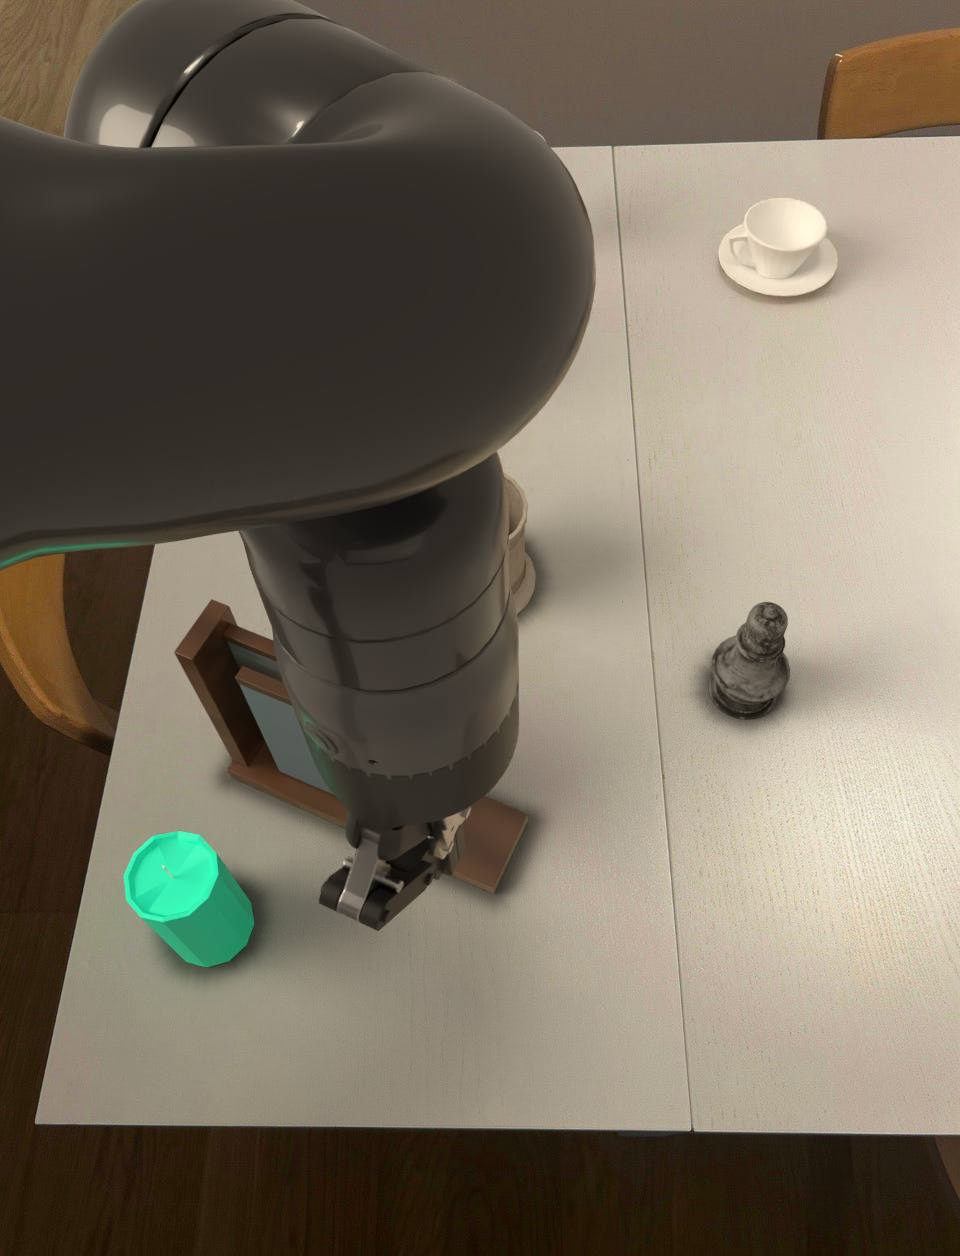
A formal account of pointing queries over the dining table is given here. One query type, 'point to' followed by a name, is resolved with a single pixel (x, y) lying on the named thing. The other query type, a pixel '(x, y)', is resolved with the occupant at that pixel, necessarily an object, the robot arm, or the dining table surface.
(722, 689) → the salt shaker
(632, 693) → the dining table surface
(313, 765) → the glass door
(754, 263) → the teacup
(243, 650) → the screen frame
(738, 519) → the dining table surface
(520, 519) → the mug
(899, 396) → the dining table surface
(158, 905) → the candle
